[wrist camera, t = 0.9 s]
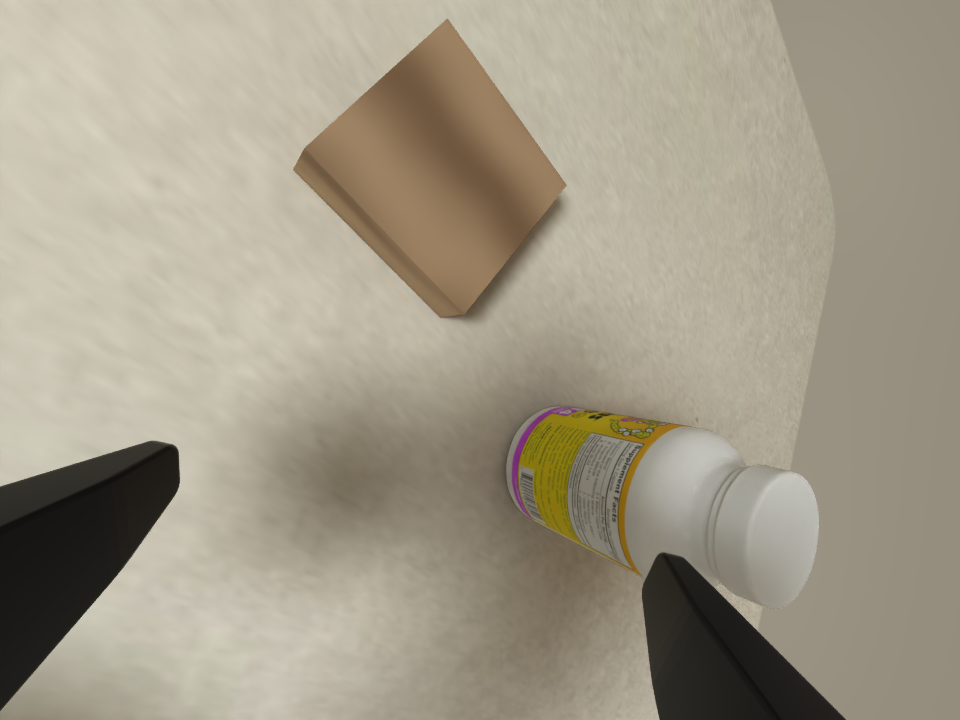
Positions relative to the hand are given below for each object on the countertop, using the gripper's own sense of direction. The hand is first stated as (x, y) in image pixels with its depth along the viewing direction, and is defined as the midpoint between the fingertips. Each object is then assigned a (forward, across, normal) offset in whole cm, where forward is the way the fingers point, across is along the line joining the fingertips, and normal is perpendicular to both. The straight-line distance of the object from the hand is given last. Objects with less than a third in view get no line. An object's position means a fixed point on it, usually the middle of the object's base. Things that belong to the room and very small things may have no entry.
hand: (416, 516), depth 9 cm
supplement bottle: (+16, -6, +9) cm, 20 cm away
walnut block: (+17, +3, -5) cm, 18 cm away
